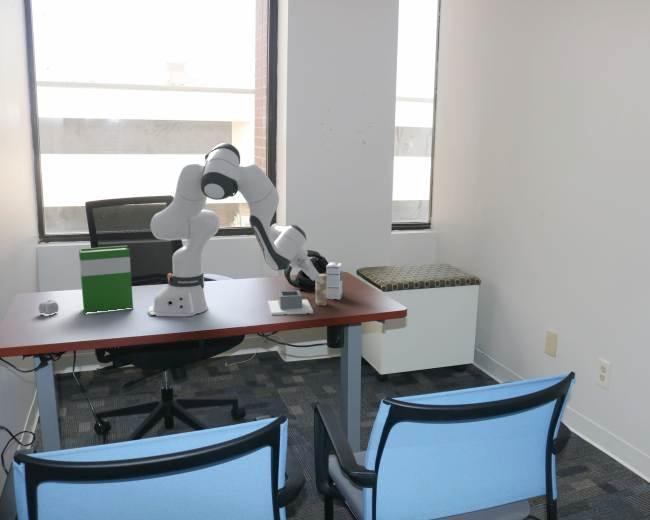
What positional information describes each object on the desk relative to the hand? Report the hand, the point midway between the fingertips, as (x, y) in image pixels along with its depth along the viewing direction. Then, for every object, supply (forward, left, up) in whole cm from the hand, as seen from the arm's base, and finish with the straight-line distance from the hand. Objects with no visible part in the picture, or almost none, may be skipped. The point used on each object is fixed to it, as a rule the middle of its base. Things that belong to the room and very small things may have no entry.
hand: (321, 280), depth 250 cm
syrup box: (+7, +8, -10) cm, 15 cm away
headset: (-1, +25, -10) cm, 27 cm away
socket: (-13, -4, -10) cm, 17 cm away
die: (-104, +2, -10) cm, 105 cm away
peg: (0, 0, -10) cm, 10 cm away
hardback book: (-83, +5, -10) cm, 84 cm away
